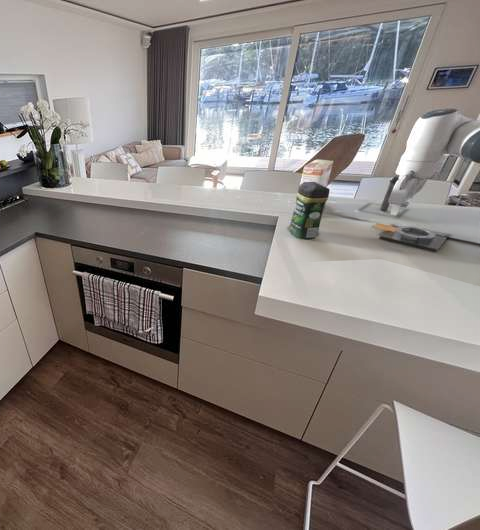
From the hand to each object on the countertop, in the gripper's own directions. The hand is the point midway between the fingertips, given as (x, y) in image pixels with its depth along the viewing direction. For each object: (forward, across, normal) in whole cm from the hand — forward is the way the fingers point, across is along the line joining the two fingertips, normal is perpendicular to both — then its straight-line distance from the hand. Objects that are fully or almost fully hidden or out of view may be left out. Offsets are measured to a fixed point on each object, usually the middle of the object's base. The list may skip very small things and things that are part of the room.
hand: (398, 210), depth 96 cm
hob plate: (+8, 0, -6) cm, 10 cm away
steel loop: (+7, -1, -3) cm, 8 cm away
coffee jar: (+8, -20, +20) cm, 30 cm away
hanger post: (+8, +20, +8) cm, 23 cm away
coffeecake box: (+8, +6, +30) cm, 31 cm away
